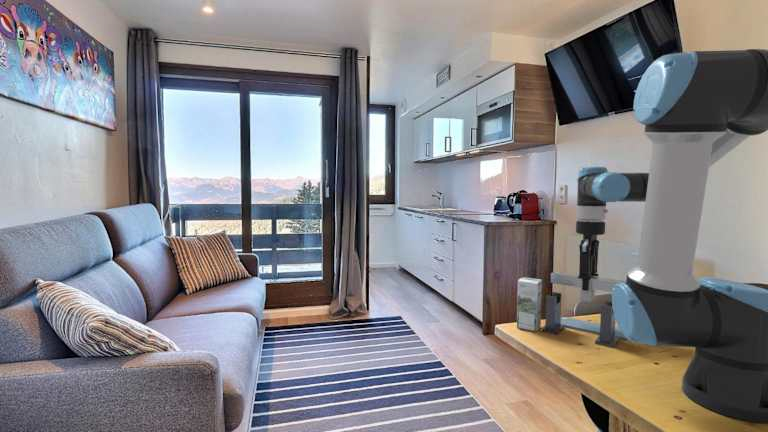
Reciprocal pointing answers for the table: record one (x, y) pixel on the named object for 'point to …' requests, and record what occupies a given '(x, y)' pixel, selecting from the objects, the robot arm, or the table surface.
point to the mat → (587, 326)
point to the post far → (553, 314)
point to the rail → (573, 280)
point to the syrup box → (529, 304)
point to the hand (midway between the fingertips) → (587, 299)
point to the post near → (607, 326)
